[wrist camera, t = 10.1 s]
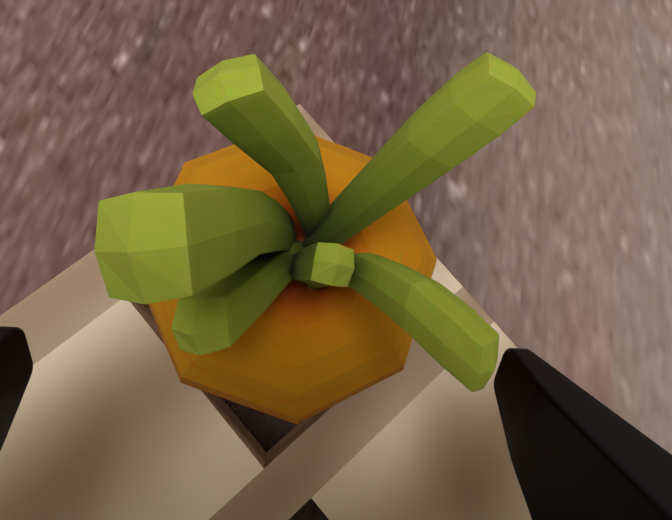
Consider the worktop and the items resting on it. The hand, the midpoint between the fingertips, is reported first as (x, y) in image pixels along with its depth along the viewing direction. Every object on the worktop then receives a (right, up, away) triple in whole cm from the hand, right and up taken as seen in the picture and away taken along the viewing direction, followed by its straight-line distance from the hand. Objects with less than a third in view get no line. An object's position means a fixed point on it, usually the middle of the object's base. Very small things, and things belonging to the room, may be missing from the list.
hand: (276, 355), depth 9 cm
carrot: (-1, -1, +9) cm, 9 cm away
